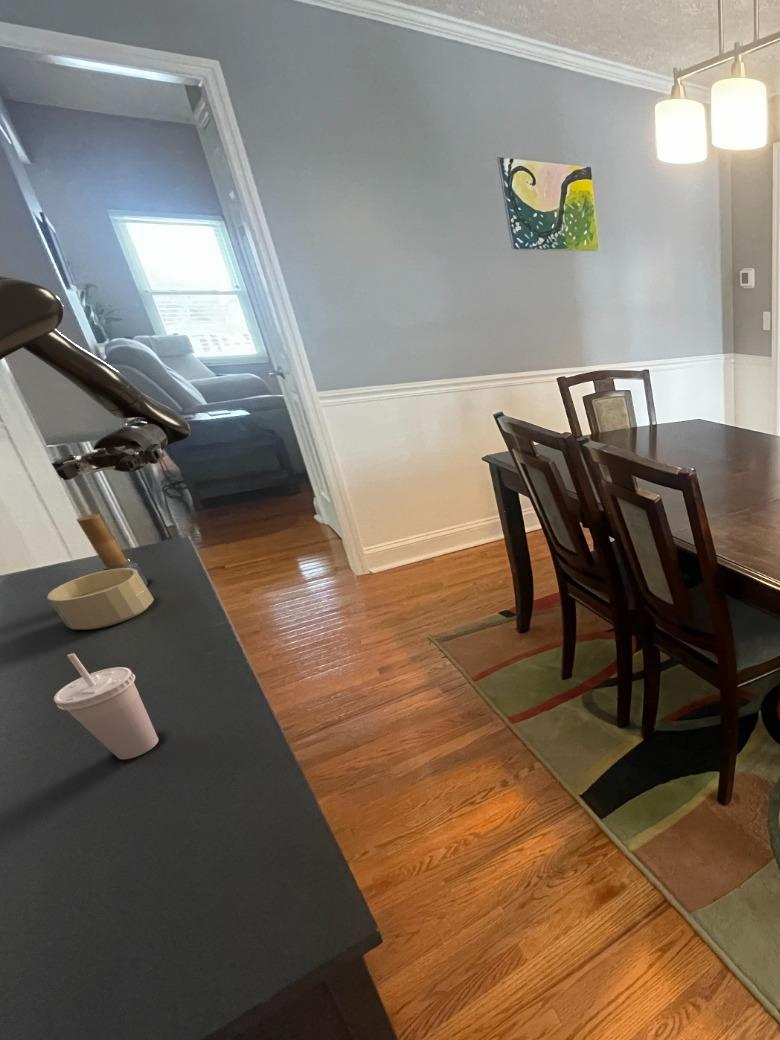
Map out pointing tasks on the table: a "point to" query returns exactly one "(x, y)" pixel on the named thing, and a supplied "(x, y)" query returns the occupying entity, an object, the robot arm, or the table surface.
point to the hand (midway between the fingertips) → (94, 470)
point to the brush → (105, 544)
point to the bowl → (101, 599)
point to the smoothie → (109, 709)
